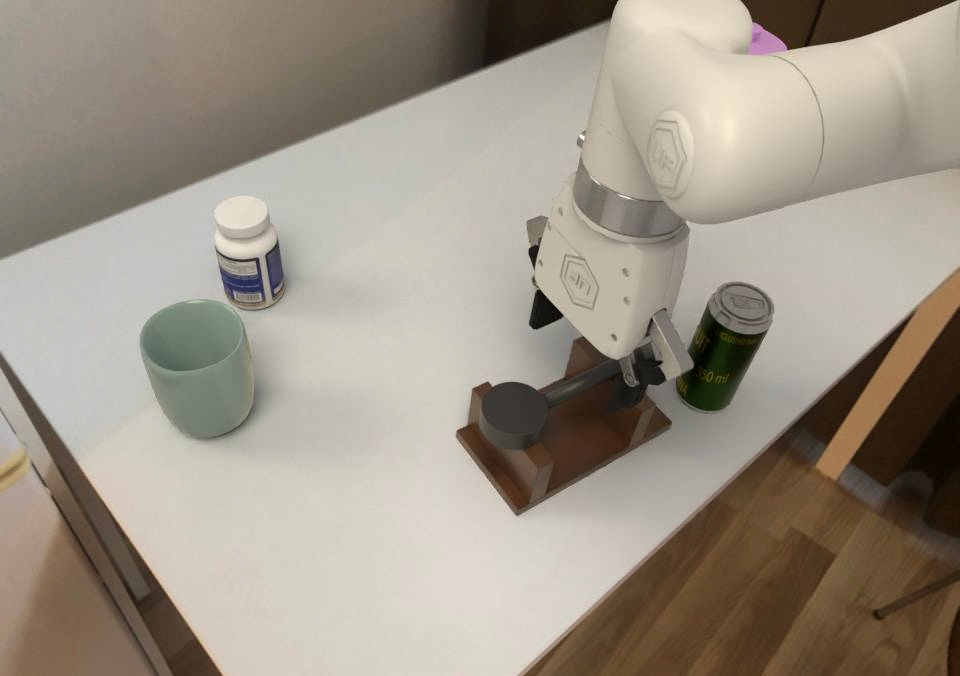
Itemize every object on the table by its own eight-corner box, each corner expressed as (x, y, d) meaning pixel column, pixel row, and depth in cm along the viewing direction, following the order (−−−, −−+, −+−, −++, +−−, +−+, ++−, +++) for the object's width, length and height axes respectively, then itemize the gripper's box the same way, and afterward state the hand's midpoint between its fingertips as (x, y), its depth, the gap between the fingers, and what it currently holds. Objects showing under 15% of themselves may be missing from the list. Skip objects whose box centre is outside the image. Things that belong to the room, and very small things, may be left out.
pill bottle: (263, 263, 81) (251, 183, 73) (297, 294, 78) (288, 214, 71) (213, 288, 78) (195, 207, 70) (246, 321, 75) (231, 240, 68)
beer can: (726, 374, 76) (771, 283, 67) (734, 419, 72) (782, 329, 64) (670, 367, 76) (708, 275, 67) (675, 412, 72) (716, 321, 63)
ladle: (689, 363, 68) (696, 347, 67) (504, 461, 60) (507, 446, 58) (648, 324, 71) (654, 308, 70) (466, 413, 63) (468, 397, 61)
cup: (155, 394, 68) (128, 314, 61) (245, 367, 71) (229, 287, 64) (177, 464, 64) (150, 386, 57) (272, 433, 67) (258, 354, 60)
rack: (670, 428, 71) (689, 386, 67) (516, 516, 64) (526, 475, 59) (605, 362, 76) (619, 318, 71) (455, 437, 68) (460, 393, 64)
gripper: (507, 131, 53) (482, 308, 66) (686, 293, 44) (617, 462, 57) (593, 104, 56) (553, 278, 69) (775, 250, 47) (692, 419, 60)
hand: (582, 361), depth 63 cm, fingers open, 9 cm apart
